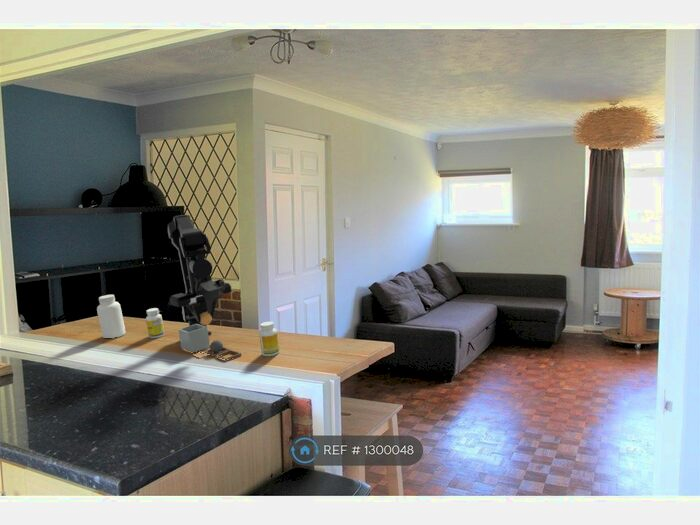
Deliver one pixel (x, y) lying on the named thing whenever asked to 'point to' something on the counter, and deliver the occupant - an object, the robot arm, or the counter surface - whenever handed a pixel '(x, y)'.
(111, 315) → the pill bottle
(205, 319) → the orange ball
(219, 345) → the gray ball
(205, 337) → the grey open box
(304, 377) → the counter surface
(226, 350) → the holder
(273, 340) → the supplement bottle
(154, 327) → the supplement bottle
